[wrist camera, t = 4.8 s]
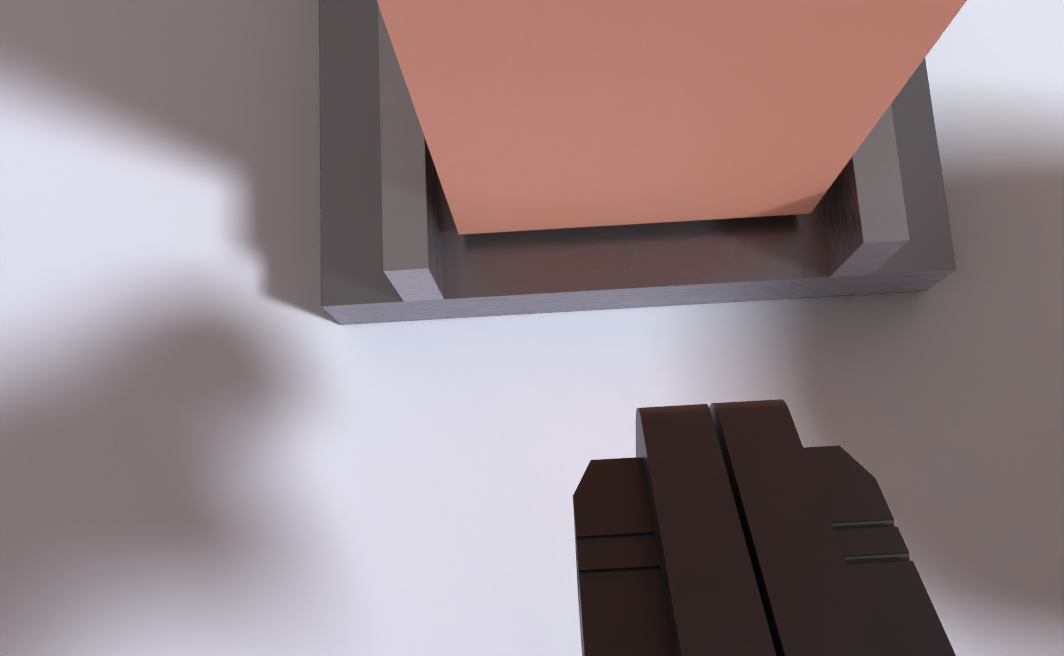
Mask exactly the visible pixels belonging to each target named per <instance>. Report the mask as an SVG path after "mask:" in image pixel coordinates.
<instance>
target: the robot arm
mask: <svg viewBox="0 0 1064 656" xmlns="http://www.w3.org/2000/svg"><path fill="white" fill-rule="evenodd" d="M573 505H574V524H575V543H576V563H577V582H578V601H579V615H580V630H581V643H582V656H956V655H955V653H954V651H953V648H952V646H951V644H950V642H949V640H948V637H947V635H946V633H945V631H944V629H943V626H942V624H941V622H940V620H939V618H938V615H937V613H936V611H935V609H934V607H933V604H932V602H931V600H930V598H929V596H928V593H927V591H926V589H925V587H924V584H923V582H922V580H921V578H920V576H919V573H918V571H917V569H916V567H915V565H914V562H913V561H910V559H909V551H908V549H907V547H906V545H905V543H904V540H903V538H902V536H901V534H900V532H899V529H898V527H895V526H894V518H893V516H892V514H891V512H890V510H889V507H888V505H887V503H886V501H885V498H884V496H883V494H882V492H881V490H880V487H879V485H878V483H877V481H876V479H875V478H874V477H873V476H872V475H871V474H870V473H869V472H868V471H867V470H865V469H864V468H863V467H862V466H861V465H860V464H859V463H858V462H857V461H856V460H854V459H853V458H852V457H851V456H850V455H849V454H848V453H847V452H846V451H845V450H844V449H842V448H841V447H840V446H826V447H809V448H803V446H802V444H801V441H800V438H799V436H798V433H797V430H796V428H795V425H794V422H793V420H792V417H791V414H790V412H789V409H788V407H787V405H786V403H785V402H784V401H783V400H763V401H746V402H728V403H712V404H711V405H710V408H709V406H708V405H707V404H699V405H681V406H664V407H647V408H637V411H636V458H620V459H602V460H591V461H590V463H589V465H588V467H587V469H586V471H585V473H584V475H583V477H582V479H581V481H580V483H579V485H578V487H577V489H576V491H575V493H574V495H573Z"/></svg>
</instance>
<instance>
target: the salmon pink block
mask: <svg viewBox="0 0 1064 656" xmlns="http://www.w3.org/2000/svg"><path fill="white" fill-rule="evenodd" d="M966 1H967V0H377V2H378V5H379V8H380V11H381V14H382V17H383V19H384V22H385V25H386V28H387V31H388V34H389V37H390V39H391V42H392V45H393V48H394V51H395V54H396V57H397V59H398V62H399V65H400V68H401V71H402V74H403V77H404V79H405V82H406V85H407V88H408V91H409V94H410V96H411V99H412V102H413V105H414V108H415V111H416V114H417V116H418V119H419V122H420V125H421V128H422V131H423V134H424V136H425V139H426V142H427V145H428V148H429V151H430V154H431V156H432V159H433V162H434V165H435V168H436V171H437V174H438V176H439V179H440V182H441V185H442V188H443V191H444V194H445V196H446V199H447V202H448V205H449V208H450V211H451V214H452V216H453V219H454V222H455V225H456V228H457V231H458V234H459V235H460V234H477V233H494V232H510V231H527V230H544V229H561V228H577V227H594V226H611V225H627V224H644V223H661V222H678V221H694V220H711V219H728V218H744V217H761V216H778V215H795V214H810V213H811V212H812V211H813V209H814V208H815V207H816V205H817V204H818V203H819V201H820V200H821V198H822V197H823V196H824V194H825V193H826V192H827V190H828V189H829V188H830V186H831V185H832V183H833V182H834V181H835V179H836V178H837V177H838V175H839V174H840V173H841V171H842V170H843V168H844V167H845V166H846V164H847V163H848V162H849V160H850V159H851V158H852V156H853V155H854V153H855V152H856V151H857V149H858V148H859V147H860V145H861V144H862V143H863V141H864V140H865V138H866V137H867V136H868V134H869V133H870V132H871V130H872V129H873V128H874V126H875V125H876V123H877V122H878V121H879V119H880V118H881V117H882V115H883V114H884V113H885V111H886V110H887V108H888V107H889V106H890V104H891V103H892V102H893V100H894V99H895V98H896V96H897V95H898V93H899V92H900V91H901V89H902V88H903V87H904V85H905V84H906V83H907V81H908V80H909V78H910V77H911V76H912V74H913V73H914V72H915V70H916V69H917V68H918V66H919V65H920V63H921V62H922V61H923V59H924V58H925V57H926V55H927V54H928V53H929V51H930V50H931V48H932V47H933V46H934V44H935V43H936V42H937V40H938V39H939V38H940V36H941V35H942V33H943V32H944V31H945V29H946V28H947V27H948V25H949V24H950V23H951V21H952V20H953V18H954V17H955V16H956V14H957V13H958V12H959V10H960V9H961V8H962V6H963V5H964V3H965V2H966Z"/></svg>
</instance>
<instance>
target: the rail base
mask: <svg viewBox="0 0 1064 656" xmlns="http://www.w3.org/2000/svg"><path fill="white" fill-rule="evenodd" d="M319 49H320V186H321V307H322V308H323V309H325V310H326V311H327V312H328V313H329V314H330V315H331V316H332V317H333V318H334V319H335V320H336V321H337V322H338V323H339V324H340V325H345V324H362V323H380V322H397V321H414V320H432V319H449V318H466V317H483V316H501V315H518V314H535V313H552V312H570V311H587V310H604V309H621V308H639V307H656V306H673V305H690V304H708V303H725V302H742V301H759V300H777V299H794V298H811V297H828V296H846V295H863V294H880V293H897V292H915V291H926V290H927V289H929V288H930V287H932V286H933V285H934V284H936V283H937V282H939V281H940V280H942V279H943V278H944V277H946V276H947V275H949V274H950V273H951V272H953V271H954V270H956V268H955V261H954V254H953V247H952V240H951V234H950V227H949V220H948V213H947V206H946V199H945V192H944V186H943V179H942V172H941V165H940V158H939V151H938V144H937V138H936V131H935V124H934V117H933V110H932V103H931V97H930V90H929V83H928V76H927V69H926V62H925V58H924V59H923V61H922V62H921V63H920V65H919V66H918V68H917V69H916V70H915V72H914V73H913V74H912V76H911V77H910V78H909V80H908V81H907V83H906V84H905V85H904V87H903V88H902V89H901V91H900V92H899V93H898V95H897V96H896V98H895V99H894V100H893V102H892V103H891V104H890V106H889V107H888V108H887V110H886V111H885V113H884V114H883V115H882V117H881V118H880V119H879V121H878V122H877V123H876V125H875V126H874V128H873V129H872V130H871V132H870V133H869V134H868V136H867V137H866V138H865V140H864V141H863V143H862V144H861V145H860V147H859V148H858V149H857V151H856V152H855V153H854V155H853V156H852V158H851V159H850V160H849V162H848V163H847V164H846V166H845V167H844V168H843V170H842V171H841V173H840V174H839V175H838V177H837V178H836V179H835V181H834V182H833V183H832V185H831V186H830V188H829V189H828V190H827V192H826V193H825V194H824V196H823V197H822V198H821V200H820V201H819V203H818V204H817V205H816V207H815V208H814V209H813V211H812V212H811V213H810V214H795V215H778V216H761V217H744V218H728V219H711V220H694V221H678V222H661V223H644V224H627V225H611V226H594V227H577V228H561V229H544V230H527V231H510V232H494V233H477V234H460V235H459V234H458V231H457V228H456V225H455V222H454V219H453V216H452V214H451V211H450V208H449V205H448V202H447V199H446V196H445V194H444V191H443V188H442V185H441V182H440V179H439V176H438V174H437V171H436V168H435V165H434V162H433V159H432V156H431V154H430V151H429V148H428V145H427V142H426V139H425V136H424V134H423V131H422V128H421V125H420V122H419V119H418V116H417V114H416V111H415V108H414V105H413V102H412V99H411V96H410V94H409V91H408V88H407V85H406V82H405V79H404V77H403V74H402V71H401V68H400V65H399V62H398V59H397V57H396V54H395V51H394V48H393V45H392V42H391V39H390V37H389V34H388V31H387V28H386V25H385V22H384V19H383V17H382V14H381V11H380V8H379V5H378V2H377V0H319Z"/></svg>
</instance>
